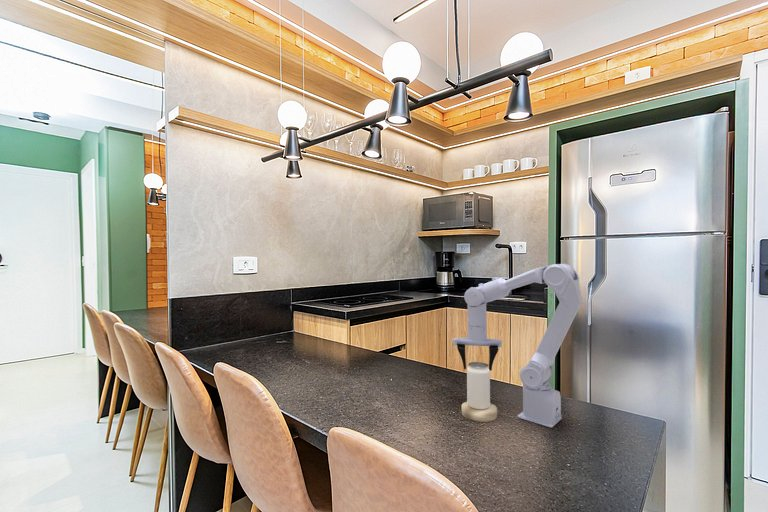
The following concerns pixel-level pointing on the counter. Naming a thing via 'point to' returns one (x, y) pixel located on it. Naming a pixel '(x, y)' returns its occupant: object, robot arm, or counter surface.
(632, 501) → the counter surface
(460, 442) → the counter surface
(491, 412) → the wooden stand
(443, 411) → the counter surface
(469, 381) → the can
